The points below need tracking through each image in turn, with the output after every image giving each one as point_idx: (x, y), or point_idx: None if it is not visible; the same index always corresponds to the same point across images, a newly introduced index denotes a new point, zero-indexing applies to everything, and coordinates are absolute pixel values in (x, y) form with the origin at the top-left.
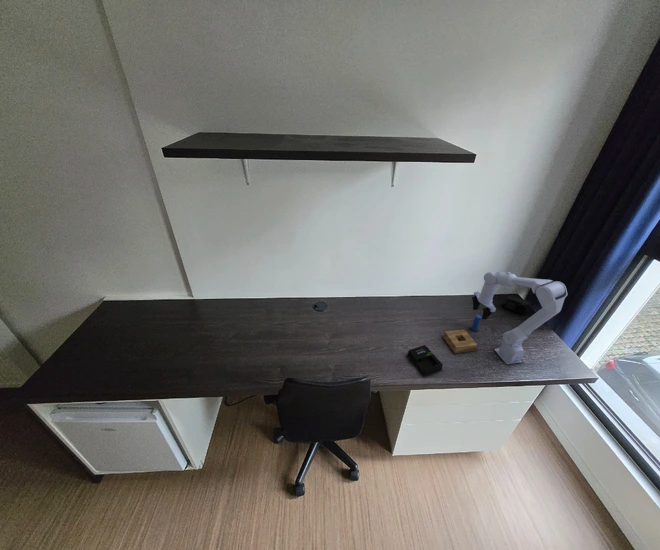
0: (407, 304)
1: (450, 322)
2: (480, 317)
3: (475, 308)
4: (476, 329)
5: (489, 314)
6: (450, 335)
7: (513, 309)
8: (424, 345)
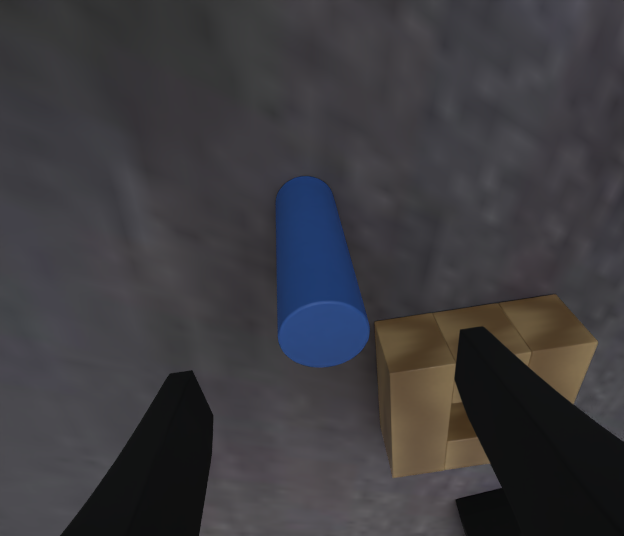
0: (56, 522)
1: (216, 358)
2: (358, 326)
3: (202, 434)
4: (334, 200)
5: (596, 446)
6: (437, 461)
7: None
8: None
